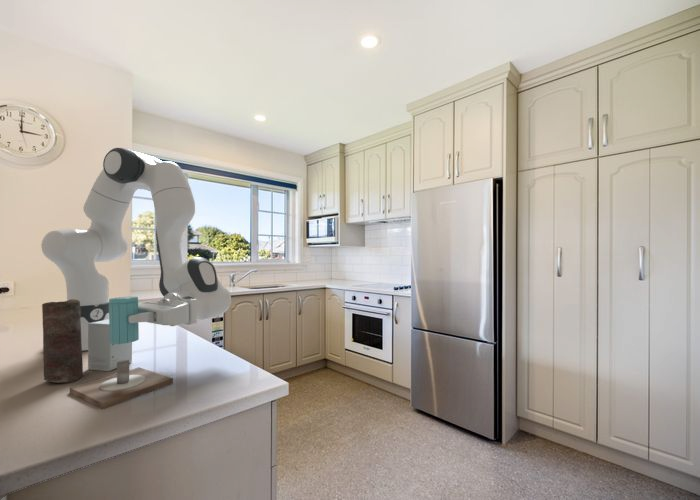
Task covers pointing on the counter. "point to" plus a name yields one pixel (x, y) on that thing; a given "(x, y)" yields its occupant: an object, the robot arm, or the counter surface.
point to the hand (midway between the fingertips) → (119, 318)
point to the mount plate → (120, 385)
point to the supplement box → (105, 348)
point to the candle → (62, 341)
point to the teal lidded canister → (122, 320)
